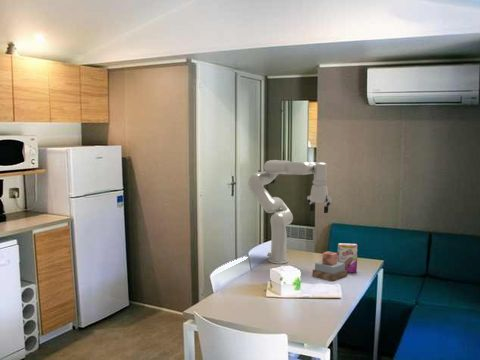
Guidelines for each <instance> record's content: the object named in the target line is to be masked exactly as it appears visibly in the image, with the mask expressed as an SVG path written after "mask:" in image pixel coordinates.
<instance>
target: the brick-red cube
mask: <svg viewBox="0 0 480 360" xmlns="http://www.w3.org/2000/svg"><path fill="white" fill-rule="evenodd" d="M337 257H338V252H333V251H329V250H328V251H324V252H323V253H322V264H327V265H331V266H332V265H335V264H337Z"/></svg>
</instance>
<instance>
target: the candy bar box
mask: <svg viewBox="0 0 480 360" xmlns="http://www.w3.org/2000/svg"><path fill="white" fill-rule="evenodd" d="M358 249H359V246H358V244H357V243H345V242H344V243H343V242H342V243H341V242H340V243H339V242H338V243H337V262H340V263H345V270H347V273H352V274H353V273H355V274H356V273H357V272H358V271H357V270H358V269H357V268H358V254H359V253H358Z"/></svg>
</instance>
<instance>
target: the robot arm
mask: <svg viewBox="0 0 480 360" xmlns="http://www.w3.org/2000/svg"><path fill="white" fill-rule="evenodd" d="M263 169H264V171H258V172H254V173H252V174H251V175H250V176H249V178H248V187H249V190H250V193H252V194H253V196H254V197H255V198H256V200H257V201H258V203H259V204H260V206H261V207H262V209H263V210H264V211H265V212H266V213H267V214H271V217H270V222H269V223H270V227H271V228H270V229H271V241H270V242H271V245H270V247H271V248H270V249H271V251H270V252H268V253H267V254H266V256H267V257H269V258H268V262H269V263H272V264H276V265H279V264H281V265H284V264H287V263H289V259H288V258H287V240H288V239H287V238H288V237H287V235H288V234H287V233H288V232H287V227H286V226H288V225H290V224H292V223H293V220H294V216H293V213H292V212H291V210H290V208H289V207H288V206H287V204H286V203H285V202H284V200H283V199H281V198H280V197H278V196H273V197H272V195H271V194H270V192H269V191H268V190H267V189H266V188H265V187H264V185H268V184H270V183H271V182H273V181H274V180H275V179H276V178H277V177H278V175H297V176H298V175H299V176H305V175H312V174H313V180H312V181H311V183H312V186H311V189H310V195H307V196H306V199H307V201H308V203H309V205H310V207H309V209H310V210H309V211H310V212H314V211H315V203H317V204H318V203H319V204H320V203H321V204H323V205H324V206H323V213H324V214H327V213H329V206H330V205H331V204H332V202H333V199H332V197H330V196H329V190H328V186H327V177H328V176H327V174H328V173H327V172H328V171H327V170H328V165H327V163H326V162H315V161H290V160H285V159H284V160H283V159H282V160H278V159H272V160H271V159H270V160H266V162H265V163H264V164H263Z"/></svg>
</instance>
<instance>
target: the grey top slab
mask: <svg viewBox="0 0 480 360" xmlns="http://www.w3.org/2000/svg"><path fill="white" fill-rule="evenodd" d="M314 269H315V270H316V271H320V272H324V273H328V274H332V275H333V274H336V273H339V272H342V271H345V263H340V262H337V264H335V265H332V266H331V265H327V264H322V261H319V262H315V263H314Z"/></svg>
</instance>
